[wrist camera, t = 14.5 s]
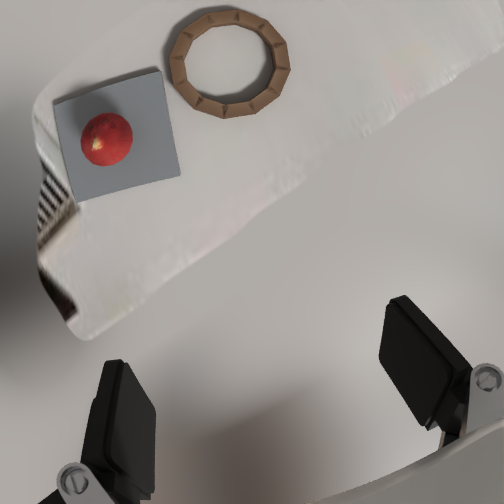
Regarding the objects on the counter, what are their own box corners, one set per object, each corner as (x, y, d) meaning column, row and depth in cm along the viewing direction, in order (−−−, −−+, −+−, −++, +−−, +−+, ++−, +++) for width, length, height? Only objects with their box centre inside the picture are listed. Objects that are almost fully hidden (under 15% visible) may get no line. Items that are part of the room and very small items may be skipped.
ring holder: (276, 10, 29) (279, 7, 27) (292, 109, 35) (296, 109, 33) (164, 24, 28) (163, 21, 26) (181, 126, 34) (180, 127, 32)
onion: (85, 128, 30) (58, 133, 23) (126, 103, 30) (107, 101, 23) (105, 169, 33) (83, 183, 26) (146, 146, 33) (132, 154, 26)
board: (161, 72, 30) (160, 70, 29) (180, 173, 36) (180, 175, 35) (57, 106, 29) (53, 105, 28) (79, 200, 35) (76, 203, 34)
